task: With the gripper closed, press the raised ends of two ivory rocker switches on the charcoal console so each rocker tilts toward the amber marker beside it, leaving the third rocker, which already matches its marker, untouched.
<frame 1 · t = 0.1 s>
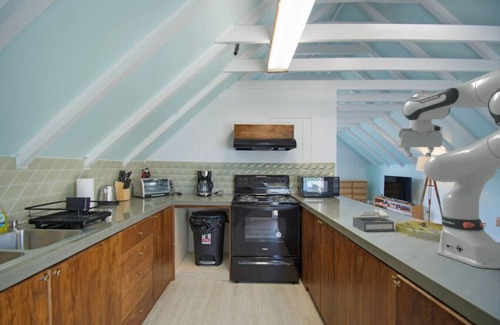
hand: (418, 156, 126), 39 cm above the worktop, tool pointing down, fingers open, 8 cm apart
switch C: (363, 213, 145), point 8 cm above the worktop, hinge at 14.0°
switch B: (372, 213, 145), point 8 cm above the worktop, hinge at 14.0°
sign: (428, 234, 133), on the worktop
console: (372, 228, 145), on the worktop
switch A: (381, 213, 145), point 8 cm above the worktop, hinge at -14.0°
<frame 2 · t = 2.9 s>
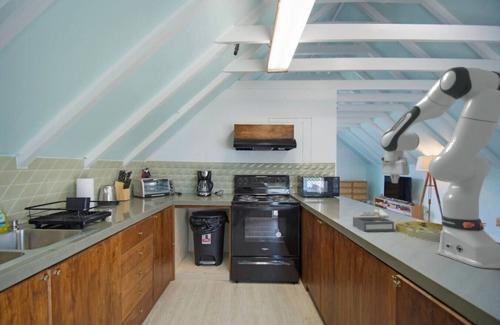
hand: (394, 183, 143), 25 cm above the worktop, tool pointing down, fingers closed
nothing on the worktop moved.
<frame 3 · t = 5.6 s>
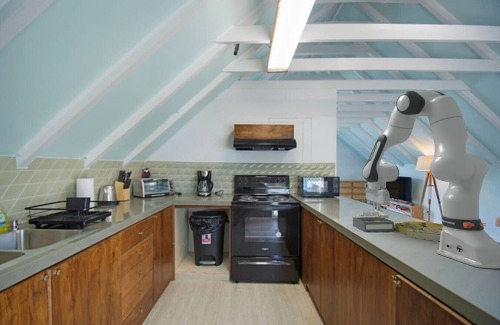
hand: (377, 210, 149), 9 cm above the worktop, tool pointing down, fingers closed
switch A: (381, 213, 145), point 8 cm above the worktop, hinge at -12.5°, touching gripper
everything else where it was.
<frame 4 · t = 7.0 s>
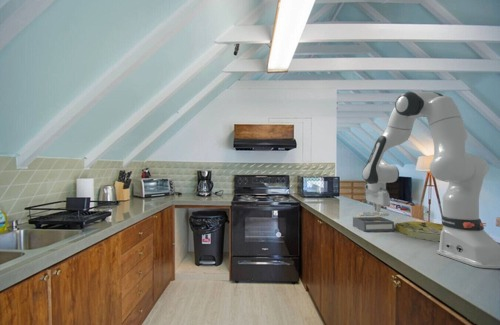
hand: (377, 211, 149), 9 cm above the worktop, tool pointing down, fingers closed, pressing on switch A
switch A: (381, 213, 145), point 8 cm above the worktop, hinge at 2.7°, touching gripper
everything else where it was.
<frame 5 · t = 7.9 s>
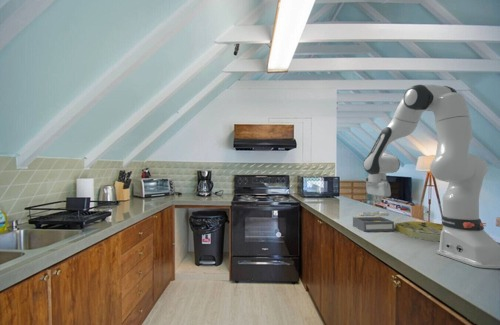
hand: (378, 203, 148), 13 cm above the worktop, tool pointing down, fingers closed
switch A: (381, 213, 145), point 8 cm above the worktop, hinge at 4.5°
everything else where it was.
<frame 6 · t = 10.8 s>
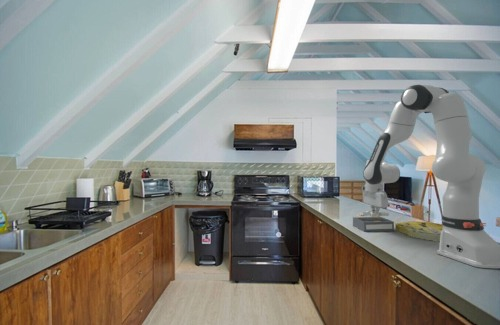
hand: (375, 213, 142), 9 cm above the worktop, tool pointing down, fingers closed, pressing on switch B
switch B: (372, 213, 145), point 8 cm above the worktop, hinge at -0.2°, touching gripper
switch A: (381, 213, 145), point 8 cm above the worktop, hinge at 5.2°
everything else where it was.
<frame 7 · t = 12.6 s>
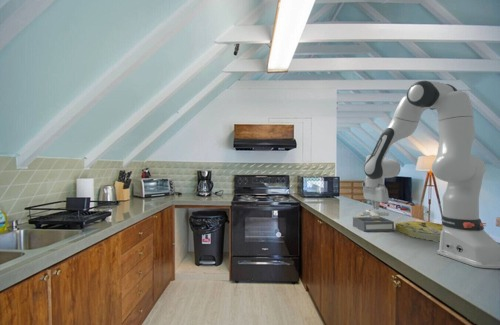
hand: (376, 209, 141), 11 cm above the worktop, tool pointing down, fingers closed
switch B: (372, 213, 145), point 8 cm above the worktop, hinge at -14.0°
everything else where it was.
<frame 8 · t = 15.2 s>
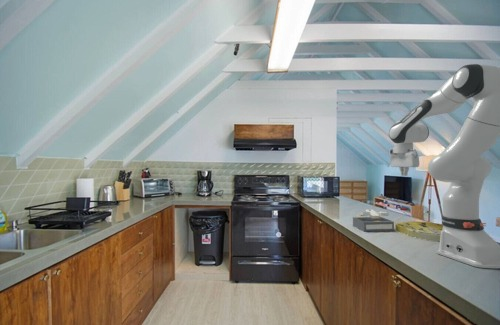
hand: (404, 175, 141), 29 cm above the worktop, tool pointing down, fingers closed
switch B: (372, 213, 145), point 8 cm above the worktop, hinge at -15.0°
everything else where it was.
at the end: switch A at +5° (first picture: -14°); switch B at -15° (first picture: +14°); switch C at +14° (first picture: +14°) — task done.
